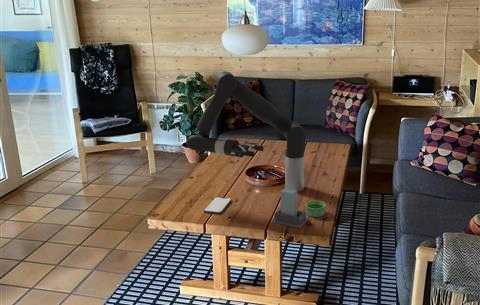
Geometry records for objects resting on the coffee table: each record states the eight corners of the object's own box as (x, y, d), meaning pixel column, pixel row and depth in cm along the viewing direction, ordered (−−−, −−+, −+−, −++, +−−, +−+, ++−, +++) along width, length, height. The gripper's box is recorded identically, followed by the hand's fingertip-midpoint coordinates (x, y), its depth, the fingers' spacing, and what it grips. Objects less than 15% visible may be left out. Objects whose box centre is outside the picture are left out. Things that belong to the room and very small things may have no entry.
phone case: (221, 215, 233) (232, 201, 248) (221, 212, 233) (232, 198, 247) (203, 213, 236) (215, 199, 250) (202, 210, 236) (215, 196, 250)
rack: (280, 214, 231) (280, 206, 230) (308, 219, 225) (308, 211, 224) (272, 222, 224) (272, 213, 223) (300, 228, 218) (300, 219, 217)
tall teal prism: (284, 216, 227) (284, 188, 223) (297, 218, 224) (297, 190, 220) (281, 219, 224) (280, 191, 220) (293, 221, 221) (293, 193, 217)
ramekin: (301, 214, 231) (301, 205, 230) (312, 207, 237) (312, 198, 236) (318, 219, 225) (318, 210, 224) (329, 212, 232) (329, 203, 230)
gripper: (218, 143, 228) (251, 147, 221) (234, 135, 240) (265, 139, 233) (219, 159, 231) (251, 164, 223) (235, 150, 243) (266, 154, 235)
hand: (258, 151), depth 228 cm, fingers open, 8 cm apart
